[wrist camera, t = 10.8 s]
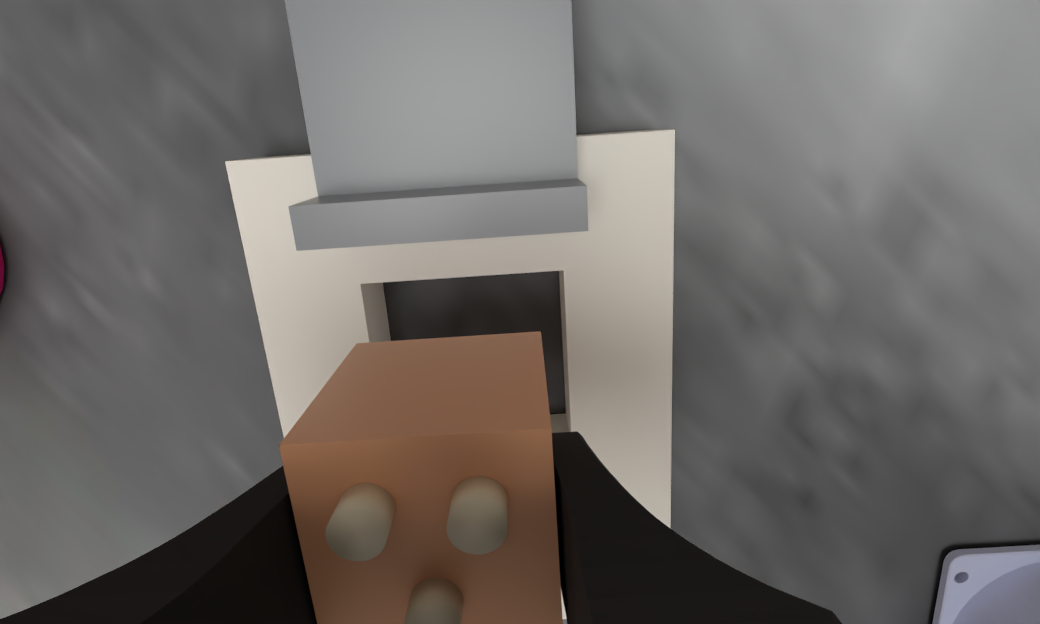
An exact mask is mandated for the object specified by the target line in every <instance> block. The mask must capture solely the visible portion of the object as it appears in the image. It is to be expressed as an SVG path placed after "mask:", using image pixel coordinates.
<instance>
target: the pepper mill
mask: <svg viewBox="0 0 1040 624" xmlns="http://www.w3.org/2000/svg"><path fill="white" fill-rule="evenodd" d="M3 284H4V260H3V255H2V251H1V246H0V294H1V292H2V289H3Z"/></svg>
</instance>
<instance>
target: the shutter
mask: <svg viewBox="0 0 1040 624" xmlns="http://www.w3.org/2000/svg"><path fill="white" fill-rule="evenodd" d="M285 5H286V11H287V16H288V22H289V28H290V34H291V40H292V46H293V52H294V58H295V64H296V70H297V75H298V81H299V87H300V93H301V99H302V105H303V111H304V117H305V123H306V129H307V134H308V140H309V146H310V152H311V158H312V164H313V170H314V176H315V182H316V188H317V193H318V196H317V197H315V198H312V199H309V200H306V201H303V202H300V203H297V204H294V205H291V206H288V207H289V213H290V218H291V224H292V229H293V234H294V240H295V245H296V251H302V250H317V249H331V248H346V247H361V246H376V245H390V244H405V243H420V242H435V241H449V240H464V239H479V238H494V237H508V236H523V235H538V234H552V233H567V232H582V231H588V204H587V185H585V184H584V183H583V182H582V181H581V180H580V179H578V164H577V137H576V110H575V83H574V57H573V30H572V3H571V0H285Z"/></svg>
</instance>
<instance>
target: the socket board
mask: <svg viewBox="0 0 1040 624" xmlns="http://www.w3.org/2000/svg"><path fill="white" fill-rule="evenodd" d="M576 137H577V164H578V179H580V180H581V181H582V182H583V183H584V184H585V185H587V204H588V231H582V232H567V233H552V234H538V235H523V236H508V237H494V238H479V239H464V240H449V241H435V242H420V243H405V244H390V245H376V246H361V247H346V248H331V249H317V250H302V251H296V245H295V240H294V234H293V229H292V224H291V218H290V213H289V207H288V206H291V205H294V204H297V203H300V202H303V201H306V200H309V199H312V198H315V197H317V196H318V193H317V188H316V182H315V176H314V170H313V164H312V158H311V154H301V155H287V156H273V157H261V158H252V159H243V160H234V161H225V164H226V168H227V173H228V178H229V182H230V187H231V192H232V196H233V201H234V206H235V211H236V215H237V220H238V225H239V229H240V234H241V239H242V243H243V248H244V253H245V257H246V262H247V267H248V272H249V276H250V281H251V286H252V290H253V295H254V300H255V304H256V309H257V314H258V319H259V323H260V328H261V333H262V337H263V342H264V347H265V351H266V356H267V361H268V366H269V370H270V375H271V380H272V384H273V389H274V394H275V398H276V403H277V408H278V413H279V417H280V422H281V427H282V431H283V436H284V438H285V437H286V435H287V434H288V433H289V431H290V430H291V429H292V427H293V426H294V425H295V423H296V422H297V421H298V419H299V418H300V417H301V415H302V414H303V413H304V412H305V410H306V409H307V408H308V406H309V405H310V404H311V402H312V401H313V400H314V398H315V397H316V396H317V394H318V393H319V392H320V391H321V389H322V388H323V387H324V385H325V384H326V383H327V381H328V380H329V379H330V377H331V376H332V375H333V373H334V372H335V371H336V370H337V368H338V367H339V366H340V364H341V363H342V362H343V360H344V359H345V358H346V356H347V355H348V354H349V352H350V351H351V350H352V348H353V347H354V346H355V345H356V343H368V342H384V341H391V337H390V330H389V323H388V316H387V309H386V302H385V295H384V288H383V282H396V281H411V280H426V279H441V278H456V277H471V276H486V275H501V274H516V273H531V272H546V271H559V284H560V304H561V324H562V345H563V365H564V385H565V406H566V414H550V420H551V429H552V433H560V432H576V431H577V432H579V433H580V434H581V435H582V436H583V438H584V439H585V441H586V442H587V444H588V445H589V447H590V448H591V449H592V451H593V452H594V453H595V455H596V456H597V457H598V458H599V460H600V461H601V462H602V463H603V465H604V466H605V467H606V468H607V469H608V471H609V472H610V473H611V474H612V475H613V476H614V477H615V478H616V479H617V481H618V482H619V483H620V484H621V485H622V486H623V487H624V488H625V489H626V490H627V491H628V492H629V493H630V494H631V495H632V496H633V497H634V498H635V499H636V500H637V501H638V502H639V503H640V504H641V505H642V506H643V507H644V508H646V509H647V510H648V511H649V512H650V513H651V514H652V515H654V516H655V517H656V518H657V519H658V520H660V521H661V522H662V523H664V524H665V525H666V526H668V527H669V528H670V522H671V433H672V344H673V254H674V165H675V130H640V131H626V132H612V133H598V134H584V135H576ZM561 602H562V619H567V618H566V612H565V607H564V602H563V597H562V591H561Z"/></svg>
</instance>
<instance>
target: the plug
mask: <svg viewBox="0 0 1040 624" xmlns="http://www.w3.org/2000/svg"><path fill="white" fill-rule="evenodd" d="M279 448H280V453H281V458H282V462H283V467H284V472H285V476H286V481H287V486H288V490H289V495H290V499H291V504H292V509H293V513H294V518H295V523H296V527H297V532H298V537H299V541H300V546H301V551H302V555H303V560H304V564H305V569H306V574H307V578H308V583H309V588H310V592H311V597H312V602H313V606H314V611H315V616H316V620H317V624H563V619H562V602H561V584H560V567H559V550H558V532H557V515H556V498H555V481H554V463H553V446H552V429H551V420H550V410H549V401H548V392H547V383H546V374H545V365H544V356H543V347H542V337H541V331H538V332H523V333H507V334H492V335H476V336H461V337H445V338H430V339H414V340H399V341H384V342H368V343H356V345H355V346H354V347H353V348H352V350H351V351H350V352H349V354H348V355H347V356H346V358H345V359H344V360H343V362H342V363H341V364H340V366H339V367H338V368H337V370H336V371H335V372H334V373H333V375H332V376H331V377H330V379H329V380H328V381H327V383H326V384H325V385H324V387H323V388H322V389H321V391H320V392H319V393H318V394H317V396H316V397H315V398H314V400H313V401H312V402H311V404H310V405H309V406H308V408H307V409H306V410H305V412H304V413H303V414H302V415H301V417H300V418H299V419H298V421H297V422H296V423H295V425H294V426H293V427H292V429H291V430H290V431H289V433H288V434H287V435H286V437H285V438H284V439H283V440H282V442H281V443H280V444H279Z"/></svg>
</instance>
